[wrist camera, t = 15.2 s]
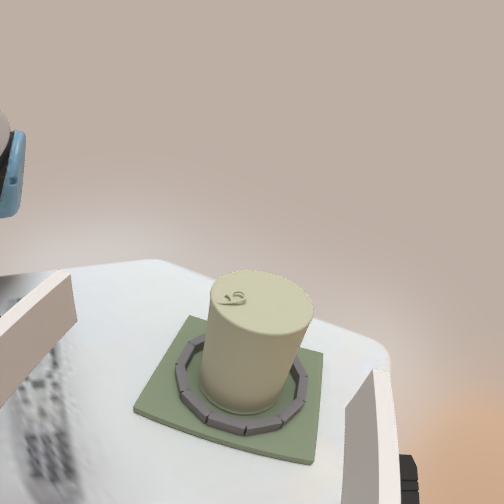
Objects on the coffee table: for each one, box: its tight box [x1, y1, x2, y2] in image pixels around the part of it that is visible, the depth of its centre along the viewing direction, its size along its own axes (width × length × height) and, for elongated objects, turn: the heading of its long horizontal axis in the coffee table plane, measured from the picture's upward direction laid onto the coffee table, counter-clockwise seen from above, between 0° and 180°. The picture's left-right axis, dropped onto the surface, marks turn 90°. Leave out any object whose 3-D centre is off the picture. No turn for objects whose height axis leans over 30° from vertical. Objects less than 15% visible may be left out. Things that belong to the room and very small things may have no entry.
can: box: [198, 270, 314, 415], centre depth 30 cm, size 9×9×12 cm
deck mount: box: [133, 315, 323, 465], centre depth 33 cm, size 18×16×2 cm
